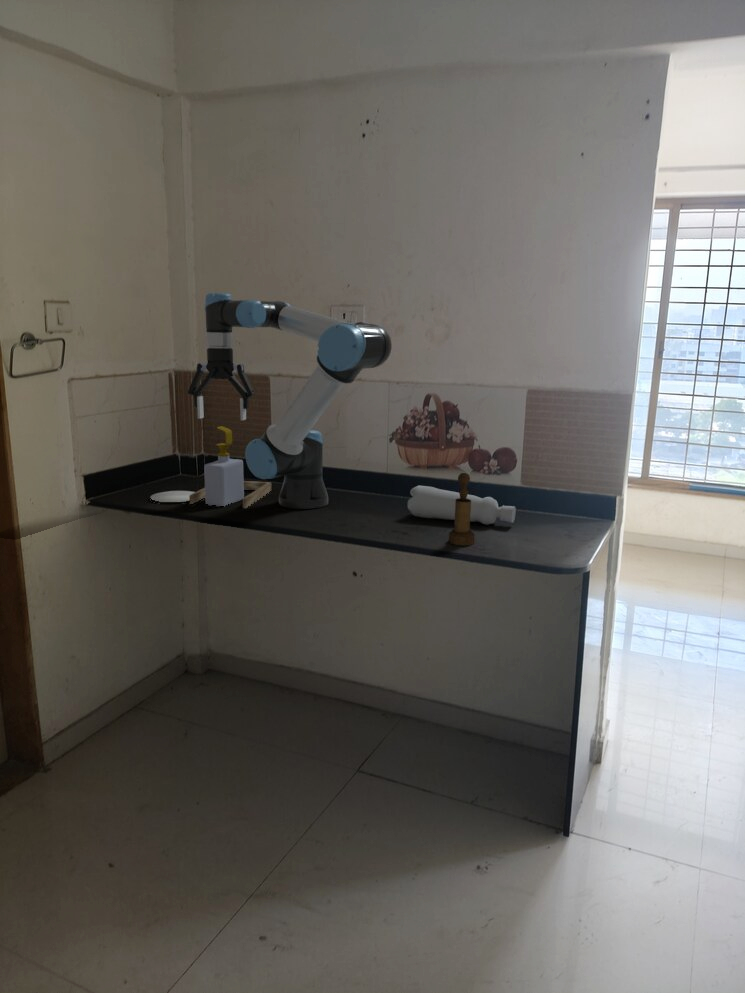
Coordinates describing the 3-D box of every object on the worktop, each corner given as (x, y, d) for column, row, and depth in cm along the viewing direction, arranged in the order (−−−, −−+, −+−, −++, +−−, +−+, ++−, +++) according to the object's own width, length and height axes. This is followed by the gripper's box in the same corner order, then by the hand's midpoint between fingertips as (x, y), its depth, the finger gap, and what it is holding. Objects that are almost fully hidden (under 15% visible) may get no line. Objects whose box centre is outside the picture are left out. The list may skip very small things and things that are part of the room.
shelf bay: (271, 491, 251) (271, 482, 251) (246, 508, 228) (245, 498, 228) (220, 488, 255) (219, 479, 254) (189, 504, 232) (189, 495, 231)
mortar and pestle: (476, 545, 193) (479, 475, 189) (451, 546, 193) (453, 476, 189) (471, 538, 200) (474, 470, 196) (446, 538, 199) (449, 470, 195)
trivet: (207, 494, 246) (207, 492, 246) (187, 505, 231) (187, 502, 231) (163, 492, 249) (163, 489, 248) (141, 502, 234) (141, 500, 234)
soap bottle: (227, 497, 243) (224, 423, 237) (245, 499, 240) (242, 425, 235) (204, 505, 232) (201, 428, 226) (223, 507, 229) (220, 430, 224)
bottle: (403, 508, 217) (507, 524, 205) (411, 479, 219) (514, 493, 208) (412, 520, 225) (512, 535, 213) (419, 491, 227) (519, 505, 216)
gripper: (264, 347, 227) (265, 418, 231) (185, 346, 231) (188, 415, 236) (255, 348, 220) (257, 422, 224) (174, 346, 224) (177, 418, 229)
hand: (222, 419), depth 230 cm, fingers open, 13 cm apart
